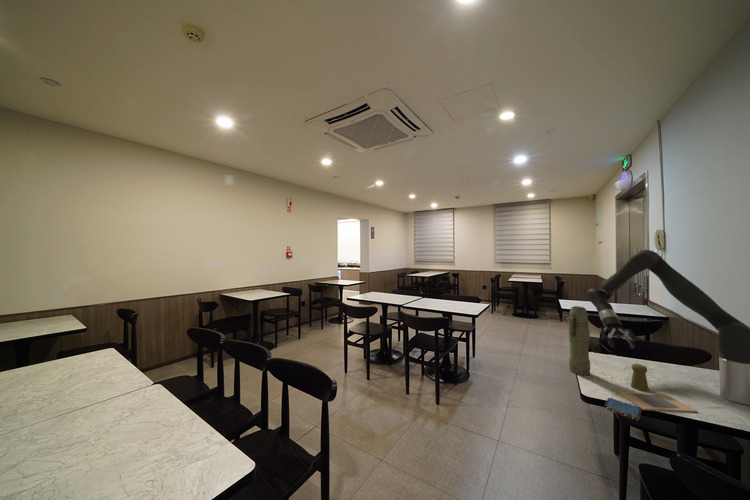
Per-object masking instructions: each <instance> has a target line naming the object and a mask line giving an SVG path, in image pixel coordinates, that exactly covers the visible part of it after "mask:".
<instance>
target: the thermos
mask: <svg viewBox="0 0 750 500" xmlns="http://www.w3.org/2000/svg"><path fill="white" fill-rule="evenodd" d="M590 334H591V333H590V330H589V316H588V311H587V309H586V308H585V307H583V306H577V305H575V306H571V308H570V311H569V327H568V339H569V357H568V364H569V365H568V366H569V372H570V373H572V374H575V375H577V376H583V377H589V376H590V375H591V373H590V372H591V361H590V353H589V352H590V351H589V347H590V345H589V342H590V339H591V338H590ZM575 371H576V372H575Z"/></svg>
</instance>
